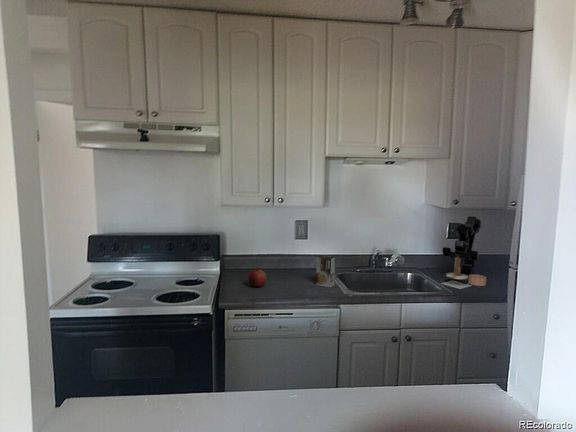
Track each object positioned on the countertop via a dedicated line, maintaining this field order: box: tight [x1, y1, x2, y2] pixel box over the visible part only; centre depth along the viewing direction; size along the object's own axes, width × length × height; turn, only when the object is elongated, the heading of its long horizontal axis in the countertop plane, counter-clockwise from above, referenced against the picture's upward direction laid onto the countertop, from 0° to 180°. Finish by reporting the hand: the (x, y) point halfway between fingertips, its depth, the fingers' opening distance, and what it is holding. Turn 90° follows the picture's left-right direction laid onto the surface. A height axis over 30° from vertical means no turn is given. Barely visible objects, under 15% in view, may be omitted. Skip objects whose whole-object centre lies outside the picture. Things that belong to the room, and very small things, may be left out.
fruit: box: [248, 267, 267, 288], centre depth 209 cm, size 11×10×10 cm
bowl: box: [467, 273, 487, 287], centre depth 223 cm, size 9×9×4 cm
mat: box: [440, 280, 472, 290], centre depth 220 cm, size 12×12×1 cm
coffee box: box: [315, 254, 336, 288], centre depth 214 cm, size 9×6×16 cm
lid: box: [445, 256, 469, 280], centre depth 219 cm, size 12×12×11 cm
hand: (457, 265), depth 218 cm, fingers closed on lid, 3 cm apart
